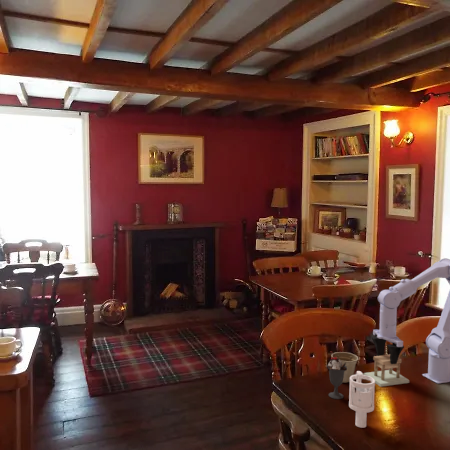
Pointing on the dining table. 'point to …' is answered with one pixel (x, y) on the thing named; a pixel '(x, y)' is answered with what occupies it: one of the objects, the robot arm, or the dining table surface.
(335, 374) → the sundae
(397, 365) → the stool
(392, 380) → the board
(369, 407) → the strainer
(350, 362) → the flower pot
